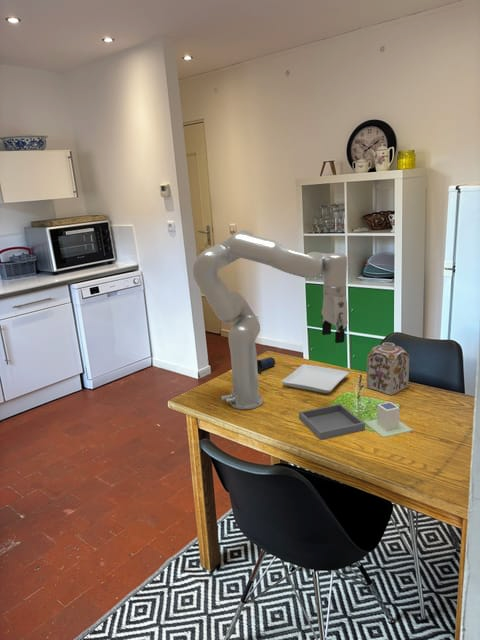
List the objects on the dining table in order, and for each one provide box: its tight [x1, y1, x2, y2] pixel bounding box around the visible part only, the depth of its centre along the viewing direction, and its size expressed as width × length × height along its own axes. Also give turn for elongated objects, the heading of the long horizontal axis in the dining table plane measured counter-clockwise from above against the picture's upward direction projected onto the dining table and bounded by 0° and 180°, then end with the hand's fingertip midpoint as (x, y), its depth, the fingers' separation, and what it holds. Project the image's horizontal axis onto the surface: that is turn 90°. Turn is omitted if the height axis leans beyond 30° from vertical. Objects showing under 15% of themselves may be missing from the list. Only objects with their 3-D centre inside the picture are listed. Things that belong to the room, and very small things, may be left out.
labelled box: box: [376, 401, 401, 431], centre depth 159 cm, size 5×5×7 cm
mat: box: [363, 418, 414, 438], centre depth 161 cm, size 11×11×1 cm
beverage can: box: [257, 356, 276, 375], centre depth 218 cm, size 9×8×12 cm
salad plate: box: [281, 363, 350, 394], centre depth 200 cm, size 21×21×3 cm
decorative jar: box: [366, 341, 410, 396], centre depth 189 cm, size 12×12×18 cm
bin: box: [298, 403, 366, 441], centre depth 164 cm, size 16×16×3 cm
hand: (332, 338), depth 171 cm, fingers open, 9 cm apart
